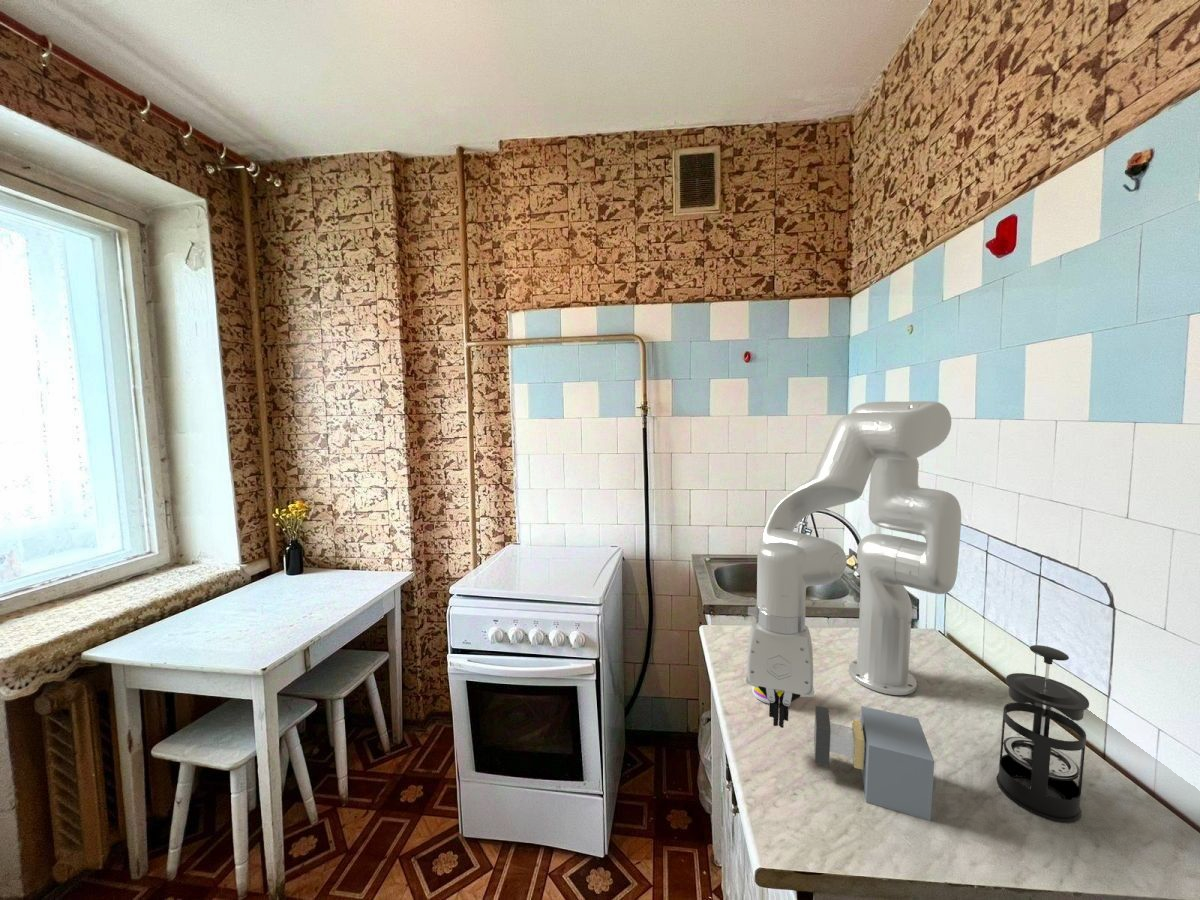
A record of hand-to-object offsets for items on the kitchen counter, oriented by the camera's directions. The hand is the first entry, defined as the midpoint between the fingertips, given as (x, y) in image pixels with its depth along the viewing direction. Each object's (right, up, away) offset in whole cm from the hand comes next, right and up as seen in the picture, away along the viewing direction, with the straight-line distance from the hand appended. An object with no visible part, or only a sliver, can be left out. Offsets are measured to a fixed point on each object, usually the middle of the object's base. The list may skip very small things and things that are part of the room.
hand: (778, 721), depth 80 cm
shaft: (+11, -3, -6) cm, 13 cm away
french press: (+36, -6, -8) cm, 38 cm away
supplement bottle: (+4, -4, +16) cm, 17 cm away
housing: (+15, -6, -7) cm, 17 cm away
